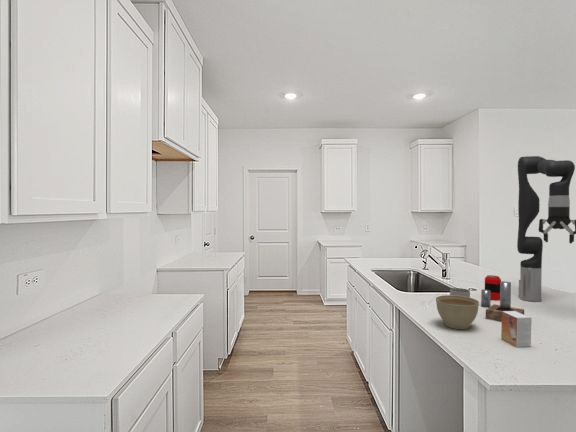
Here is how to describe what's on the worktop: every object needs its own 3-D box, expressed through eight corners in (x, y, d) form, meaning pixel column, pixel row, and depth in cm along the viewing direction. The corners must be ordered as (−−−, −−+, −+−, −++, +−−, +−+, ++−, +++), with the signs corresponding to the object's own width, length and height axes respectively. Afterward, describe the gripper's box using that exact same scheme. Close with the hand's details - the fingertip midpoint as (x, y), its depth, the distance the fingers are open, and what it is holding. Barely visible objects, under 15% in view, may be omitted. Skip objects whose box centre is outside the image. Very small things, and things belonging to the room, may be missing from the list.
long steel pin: (497, 317, 158) (498, 281, 158) (505, 317, 158) (506, 281, 158) (504, 320, 154) (504, 283, 154) (512, 319, 155) (513, 283, 154)
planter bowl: (429, 319, 156) (429, 294, 155) (467, 319, 155) (467, 295, 155) (444, 332, 139) (444, 305, 139) (486, 332, 139) (486, 305, 139)
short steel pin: (479, 305, 177) (479, 289, 177) (486, 305, 178) (486, 289, 177) (484, 307, 173) (485, 291, 173) (492, 307, 174) (492, 291, 173)
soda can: (497, 301, 185) (498, 278, 184) (482, 298, 190) (482, 276, 190) (503, 298, 190) (503, 276, 189) (487, 296, 195) (487, 274, 195)
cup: (461, 314, 162) (461, 292, 162) (446, 310, 170) (446, 289, 169) (473, 312, 166) (473, 290, 166) (458, 307, 174) (458, 287, 173)
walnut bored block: (485, 318, 156) (485, 309, 156) (493, 312, 165) (493, 304, 165) (517, 325, 148) (517, 315, 148) (524, 318, 156) (524, 309, 156)
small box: (500, 339, 133) (501, 310, 132) (515, 338, 133) (515, 310, 133) (516, 347, 125) (516, 317, 124) (531, 346, 125) (531, 317, 125)
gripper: (580, 205, 154) (580, 243, 155) (541, 206, 165) (540, 241, 165) (578, 205, 149) (577, 244, 150) (537, 206, 159) (537, 242, 160)
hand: (558, 242), depth 157 cm, fingers open, 8 cm apart
